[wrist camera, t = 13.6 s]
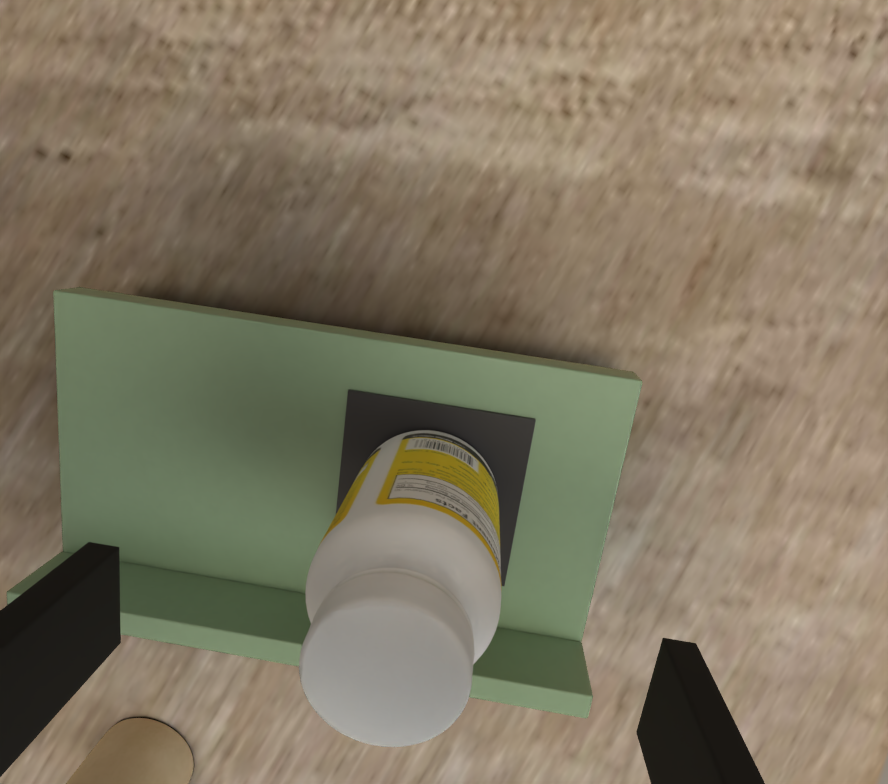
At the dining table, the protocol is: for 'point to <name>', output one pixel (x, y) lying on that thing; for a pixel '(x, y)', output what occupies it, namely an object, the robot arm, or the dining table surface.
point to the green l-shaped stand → (321, 472)
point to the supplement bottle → (404, 592)
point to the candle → (137, 756)
